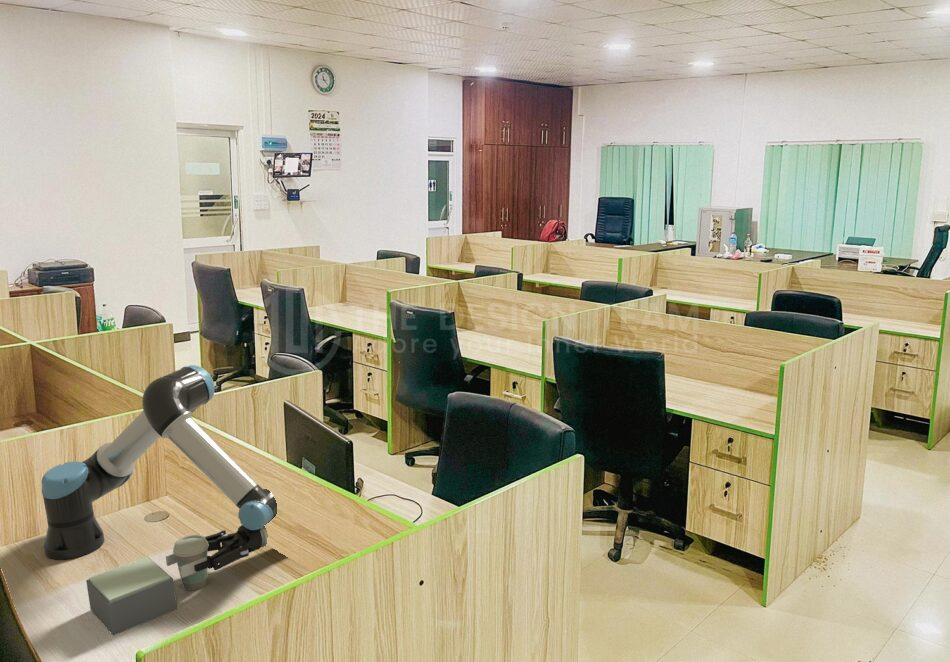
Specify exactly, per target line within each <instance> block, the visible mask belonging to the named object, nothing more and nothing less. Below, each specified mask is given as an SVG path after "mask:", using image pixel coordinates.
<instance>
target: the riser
mask: <svg viewBox="0 0 950 662" xmlns="http://www.w3.org/2000/svg"><path fill="white" fill-rule="evenodd" d="M85 581H86V588H87V594H88V600H89V601H88V602H89V608H90V611H91V612H92V613H93V615H94V616H95V617H96V616H97V617H96V618H97V619H98V620H99V621H100V623H103V624H104V625H103V624H102V625H103V626H104V627H105V628H106V630H108V631H110V632H111V633H110V632H109V633H110V634H111V635H112V636H115V634H116V635H117V634H120V633H123V632H125V631H127V630H130V629H132V628H135V627H136V626H139V625H142V624H144V623H147V622H149V621H151V620H154V619H156V618H158V617H161V616H163V615H165V614H167V613H169V612H174V611H175V610H177V609H178V604H177V597H176V590H175V589H176V588H175V582H174V578H173V577H172V576H171V575H170V574H168V573H167V572H166V571H165V570H164V569H163V568H162V567H161V566H159V564H157V563H156V562H155V561H153V559H152V558H150V557H149V556H145V557H141V558H139V559H137V560H134V561H131V562H128V563H126V564H123V565H120V566H117V567H115V568H112V569H109V570H106V571H104V572H101V573H98V574H96V575H93V576H90V577H88V578H87V579H86V580H85ZM160 615H161V616H160Z"/></svg>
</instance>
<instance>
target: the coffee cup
mask: <svg viewBox="0 0 950 662" xmlns="http://www.w3.org/2000/svg"><path fill="white" fill-rule="evenodd" d="M205 537H206V536H204V535H201V534H190V535H185V536H183V537H180V538H179V539H177V540H176V541H175V542H174V544H173V549H172V553H174V555H175V557H176V561H177V563H176V564H177V567H178V572H179V573H180V568H179V567H181V566H183V565H186V564H188V563H191V562H194V561H196V560H199V559H201V558H204V557H205V558H206V561H207V556H209V555H208V547H209V544H208V541H207V540H206V538H205ZM180 579H181V584H182V586H183V589H184V590H186V591H196V590H199V589H202V588H204V587H206V585H207V584H208V568H206V569H204V570H201V571H198V572H196V573H193V574H191V575H188V576H186V577H183V578H181V577H180Z"/></svg>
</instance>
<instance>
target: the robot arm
mask: <svg viewBox="0 0 950 662" xmlns="http://www.w3.org/2000/svg"><path fill="white" fill-rule="evenodd" d="M214 394H215V382H214V380H213V377H212V376H211V374H210V373H209V372H208V371H207V370H206V369H205V368H203V367H201V366H199V365H195V364H194V365H193V364H192V365H187V366H183V367H181V368H180V369H178V370H175V371H173V372H170V373H168V374H166V375H164V376H160V377H158V378H156V379H154V380H152V381H151V382H150V383H149V384H148V385H147V387H145V390H144V392H143V395H142V399H141V400H142V401H141V404H142V405H141V406H142V412H141V413H139V415H138V416H136V417H135V418H134V419H133V420H132V421H131V423H129V424H128V426H127V427H126V428H125V429H124V430H123V431H122V432H121V433H120V434H119V435H118V436H116V438H115V439H114V440H113V441H112V442H106V443H104V444H102V445H100V446H99V447H98V448H97V450H95V452H94V453H93V454H92V455H90V457H88V458H86V459H85V460H83V461H68V462H64V463H63V464H58V465H56V466H53V467H52V468H50V469H48V470H47V471H46V472H45V473H44V475H42V478H41V494H42V498H43V504H44V510H45V515H46V520H47V521H46V522H47V530H46V535H45V540H44V546H43V549H44V553H45V554H44V555H45V556H46V557H47V558H50V559H52V560H68V559H75V558H79V557H83V556H86V555H88V554H90V553H93V552H95V551H97V550H98V549H99V548H100V547H102V546H103V544H104V543H105V533H104V531H103V529H102V527H101V525H100V524H99V522H98V521H97V519H96V517H95V514H94V513H95V512H94V506H93V502H95V501H97V500H98V499H101V498H103V496H105V495H107V494H109V493H111V492H112V491H114V490H116V489H118V488H120V487H122V486H124V485H125V484H126V483H127V482H128V481H129V480H130V478H131V477H132V475H133V472H134V469H135V467H136V462H137V461H138V459H140V458H141V457H142V456H143V455H144V454H145V453H146V452H147V450H149V449H150V448H151V447H152V446H153V445H154V444H155V443H156V442H157V441H158V440H159V439H160V438H162V439H168V440H170V442H172V443H173V444H174V445H175V446H176V448H178V449H179V451H181V452H182V454H184V456H186V458H188V459H189V460H190V461H191V462H192V463H193V465H195V466H196V467H197V468H198V469H199V470H200V471H201V472H202V473H203V474H204V475H205V476H206V478H208V479H209V480H210V481H211V482H212V483H213V484H214V485H215V486H216V487H217V488H218V490H220V491H221V492H222V493H223V494H224V495H225V496H226V497H227V498H228V499H229V500H230V501H231V502H232V503H233V504H234V505H235V506H236V507H237V508H238V509H239V510H238V514H237V515H238V519H239V521H240V524H241V525H240V526H239V527H237V531H236V532H234V533H229V534H228V533H227V531H226V530H221V531H219V532H216V533H214V534H210V535H206V536H204V537H205V538H206V540H207V541H208V544H209V547H208V552H213V551H216V552H215V553H213V554H212V555H208V556H207V561H206V558H205V557H204V558H201V559H199V560H196V561H194V562H191V563H188V564H186V565H183V566H181V567H179V568H180V572H179V575H180V579H181V578H183V577H186V576H188V575H191V574H193V573H196V572H198V571H201V570H204V569H206V568H207V569H213V570H214V571H217V570H220V569H222V568H224V567H226V566H228V565H229V564H231V563H234V562H236V561H238V560H240V559H243V558H246V557H249V556H250V555H249V554H250V553H252V552H255V551H258V550H260V549H261V548H264V546H265V547H267V546H266V544H267V538H268V534H267V530H266V528H265V526H264V525H266V524H267V523H269V522H270V521H271V520H272V519H273V518H274V517H275V516H276V514H277V503H276V500H275V498H274V495H273V494H272V492H270V491H269V490H267V489H264V488H263V487H262V486H261V485H259V484H258V483H257V482H256V480H254V479H253V478H252V476H250V475H249V474H248V473H247V472H246V471H245V470H244V469H243V468H242V467H241V466H240V465H239V464H238V463H237V461H235V459H233V458H232V457H231V456H230V455H229V454H228V452H226V451H225V450H224V449H223V448H222V447H221V446H220V445H219V444H218V443H217V442H216V441H215V440H214V439H213V438H212V436H210V435H209V434H208V433H207V432H206V431H205V430H204V429H203V428H202V427H201V426H200V424H198V423H197V422H196V421H195V420H194V419H193V416H192V414H193V413H194V412H195V411H196V410H198V408H200V407H201V406H203V405H206V404H207V403H209V402H210V401H211V400H212V399H213V397H214ZM165 560H166V561H165V563H166V566H167V567H169V566H171V565H174V564H177V561H176V557H175V555H174V553H173V552H171V553H168V554H165Z"/></svg>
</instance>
